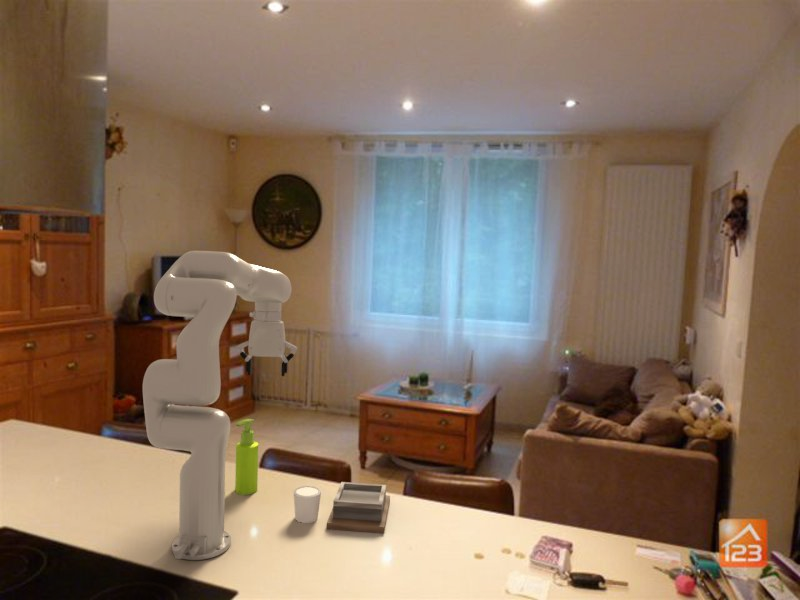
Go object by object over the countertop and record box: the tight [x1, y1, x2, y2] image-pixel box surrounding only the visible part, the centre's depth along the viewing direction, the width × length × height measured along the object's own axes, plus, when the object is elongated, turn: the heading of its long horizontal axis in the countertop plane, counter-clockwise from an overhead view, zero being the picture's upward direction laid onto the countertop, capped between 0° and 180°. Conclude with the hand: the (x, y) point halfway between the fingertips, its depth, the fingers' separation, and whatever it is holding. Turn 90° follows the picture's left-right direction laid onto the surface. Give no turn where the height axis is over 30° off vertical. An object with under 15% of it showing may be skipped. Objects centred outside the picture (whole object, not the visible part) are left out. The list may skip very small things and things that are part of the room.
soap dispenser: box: [234, 418, 259, 496], centre depth 161 cm, size 6×7×20 cm
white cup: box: [293, 485, 322, 524], centre depth 147 cm, size 7×7×7 cm
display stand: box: [326, 481, 391, 534], centre depth 150 cm, size 18×14×6 cm
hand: (266, 374), depth 171 cm, fingers open, 9 cm apart
